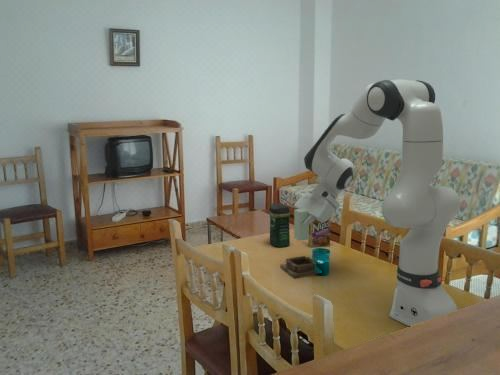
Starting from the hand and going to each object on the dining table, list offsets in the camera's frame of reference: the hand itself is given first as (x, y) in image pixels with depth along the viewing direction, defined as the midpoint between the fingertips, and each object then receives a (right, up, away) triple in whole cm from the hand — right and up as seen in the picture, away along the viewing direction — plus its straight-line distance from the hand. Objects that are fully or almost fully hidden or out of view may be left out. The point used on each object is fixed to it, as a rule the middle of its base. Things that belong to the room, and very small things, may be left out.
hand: (299, 223), depth 179 cm
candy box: (+12, -12, +32) cm, 37 cm away
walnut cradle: (+1, -18, +4) cm, 19 cm away
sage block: (+1, -6, +1) cm, 6 cm away
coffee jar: (-5, -12, +35) cm, 38 cm away
